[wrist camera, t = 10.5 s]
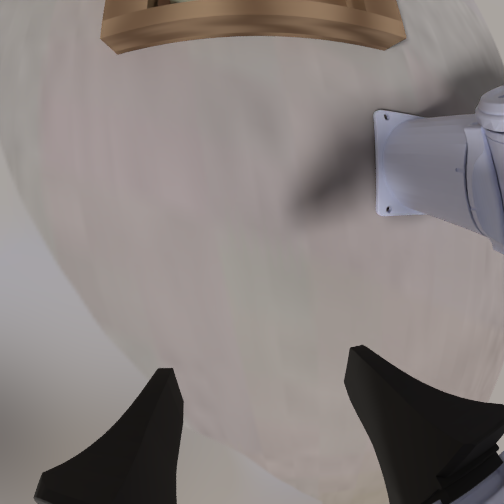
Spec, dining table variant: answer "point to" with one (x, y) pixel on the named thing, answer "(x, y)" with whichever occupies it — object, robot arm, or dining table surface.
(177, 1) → the sage peg
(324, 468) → the dining table surface
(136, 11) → the walnut rail
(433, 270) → the dining table surface
